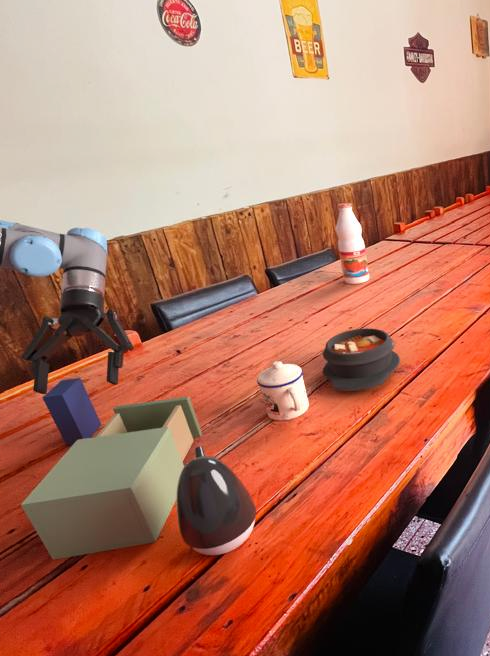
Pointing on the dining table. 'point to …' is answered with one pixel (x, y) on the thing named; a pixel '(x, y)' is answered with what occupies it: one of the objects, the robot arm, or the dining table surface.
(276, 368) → the teacup with lid
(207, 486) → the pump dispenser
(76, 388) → the rectangular block
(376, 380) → the casserole
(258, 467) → the dining table surface
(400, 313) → the dining table surface
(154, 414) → the drawer
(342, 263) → the fruit juice
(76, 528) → the cabinet
